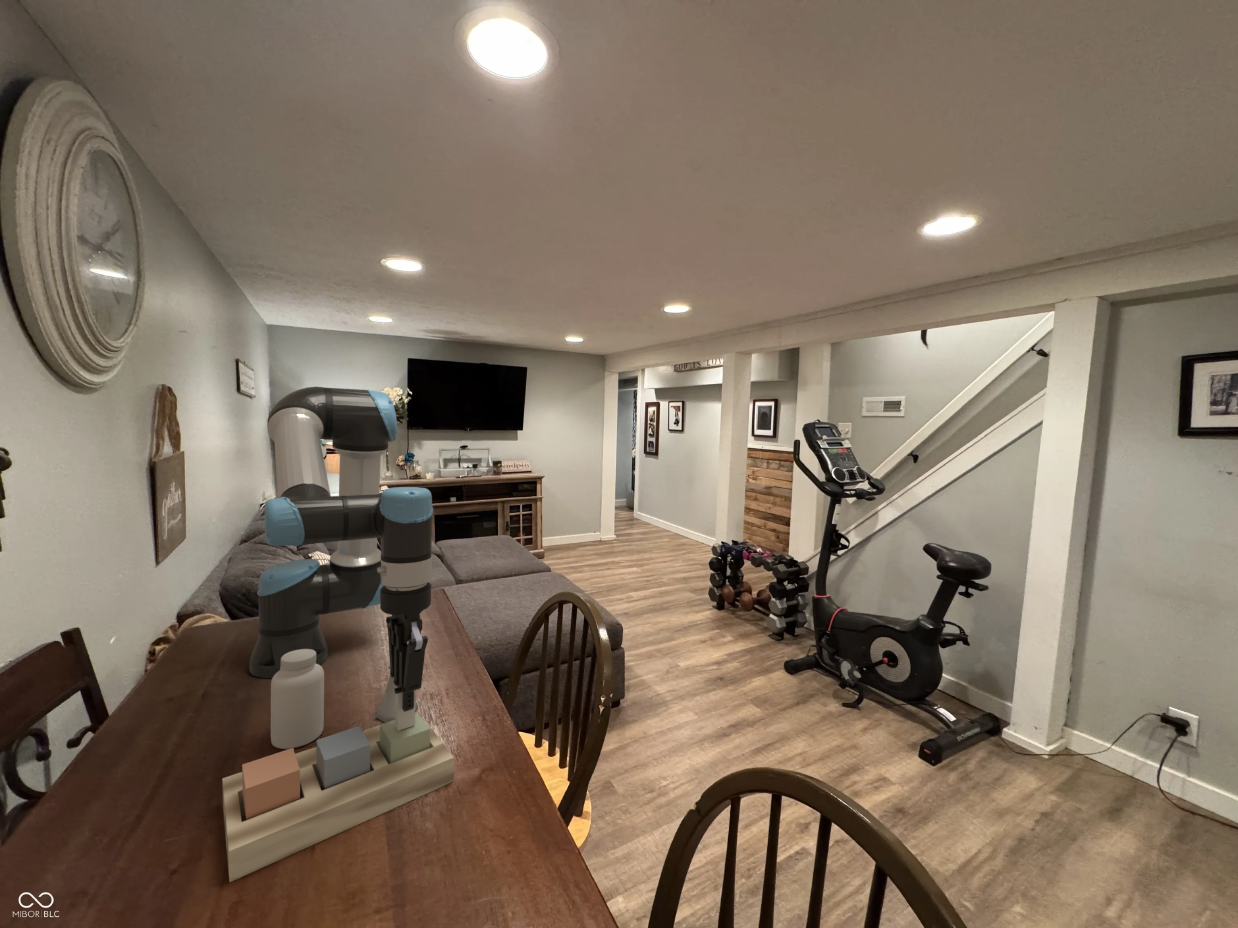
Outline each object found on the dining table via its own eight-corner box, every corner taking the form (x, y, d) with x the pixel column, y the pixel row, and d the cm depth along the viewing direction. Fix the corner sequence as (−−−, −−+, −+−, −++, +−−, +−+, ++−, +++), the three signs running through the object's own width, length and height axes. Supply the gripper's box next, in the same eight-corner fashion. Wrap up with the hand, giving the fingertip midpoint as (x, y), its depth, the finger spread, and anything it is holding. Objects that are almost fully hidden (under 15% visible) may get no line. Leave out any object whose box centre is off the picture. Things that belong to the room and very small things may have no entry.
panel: (222, 804, 72) (222, 778, 71) (418, 732, 90) (418, 711, 90) (229, 882, 60) (228, 851, 59) (453, 781, 78) (454, 757, 78)
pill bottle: (334, 728, 90) (334, 649, 89) (292, 755, 83) (292, 669, 82) (302, 719, 93) (302, 642, 92) (259, 744, 85) (259, 660, 84)
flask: (401, 726, 92) (402, 674, 91) (368, 720, 93) (368, 669, 93) (424, 705, 99) (425, 657, 98) (392, 700, 100) (393, 653, 100)
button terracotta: (242, 793, 69) (242, 764, 69) (293, 774, 73) (293, 747, 73) (246, 819, 64) (245, 788, 64) (300, 798, 68) (299, 769, 68)
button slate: (316, 766, 75) (316, 739, 75) (359, 750, 79) (359, 725, 79) (324, 788, 70) (324, 760, 70) (370, 770, 74) (370, 744, 74)
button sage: (379, 749, 81) (379, 724, 81) (416, 735, 85) (417, 711, 85) (390, 768, 76) (391, 742, 76) (429, 753, 80) (430, 728, 80)
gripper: (369, 578, 81) (369, 715, 83) (394, 599, 71) (393, 755, 73) (416, 570, 86) (414, 700, 88) (445, 590, 76) (443, 736, 78)
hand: (405, 725), depth 80 cm, fingers closed
